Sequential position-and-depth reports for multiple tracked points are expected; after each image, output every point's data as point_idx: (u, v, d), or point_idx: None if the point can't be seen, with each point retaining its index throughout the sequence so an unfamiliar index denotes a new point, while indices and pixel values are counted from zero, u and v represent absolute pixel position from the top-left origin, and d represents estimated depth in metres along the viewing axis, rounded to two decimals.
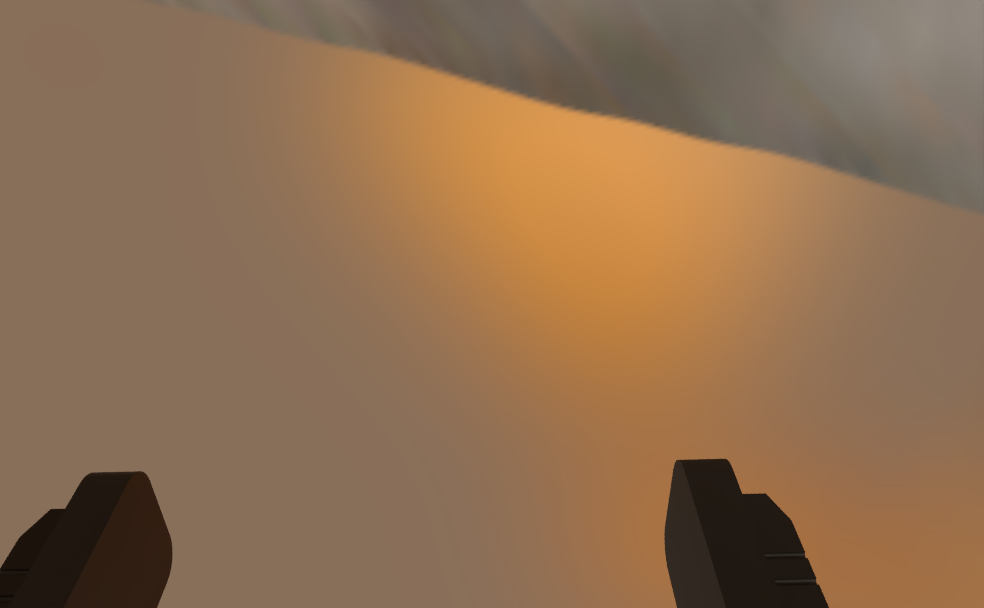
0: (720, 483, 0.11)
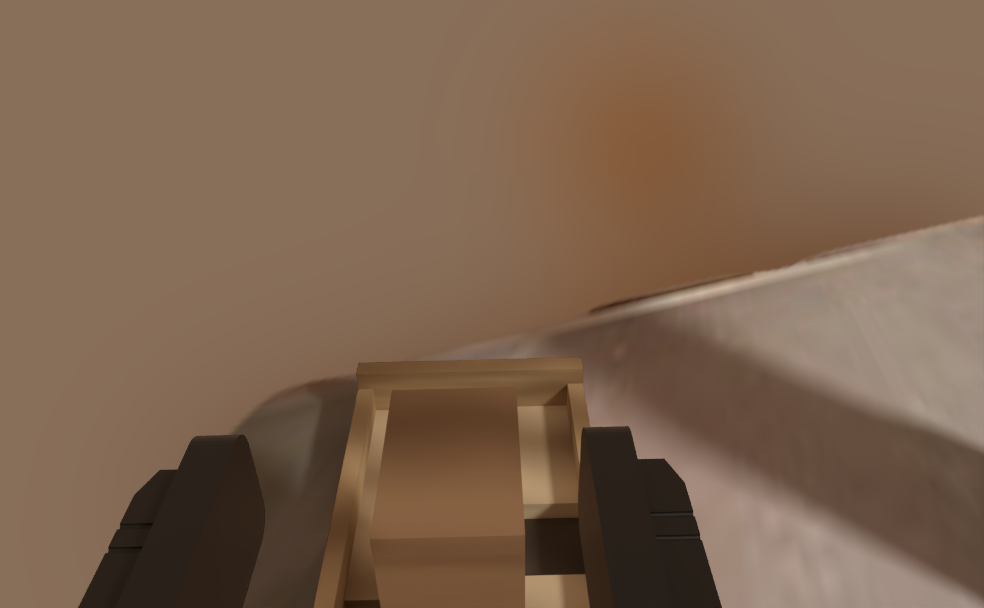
0: (618, 447, 0.11)
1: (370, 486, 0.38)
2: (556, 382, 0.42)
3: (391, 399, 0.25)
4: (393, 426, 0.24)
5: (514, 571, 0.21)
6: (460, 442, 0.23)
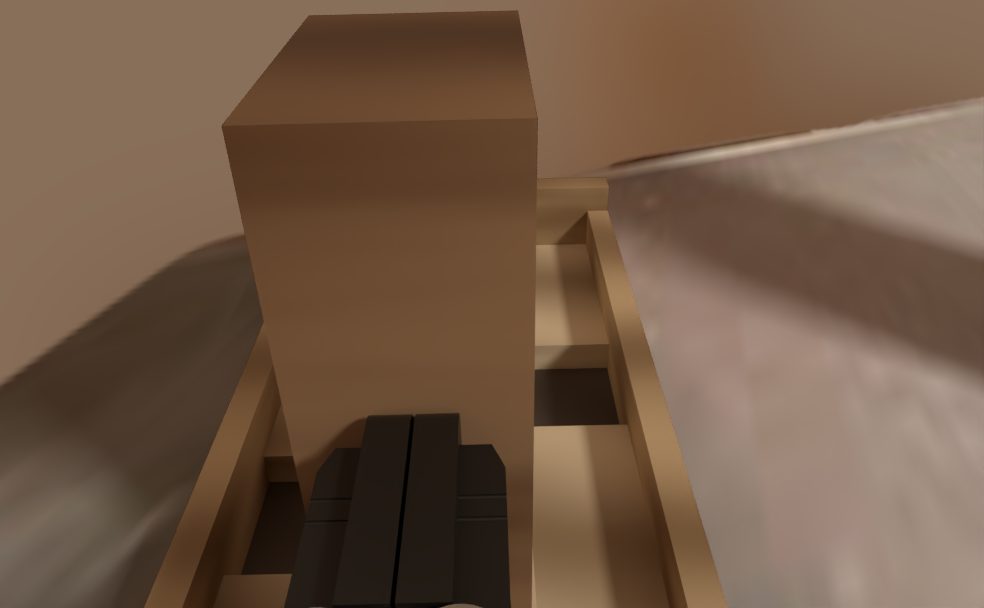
0: (441, 433, 0.12)
1: None
2: (572, 208, 0.31)
3: (306, 21, 0.15)
4: (303, 38, 0.13)
5: (514, 220, 0.11)
6: (419, 47, 0.13)
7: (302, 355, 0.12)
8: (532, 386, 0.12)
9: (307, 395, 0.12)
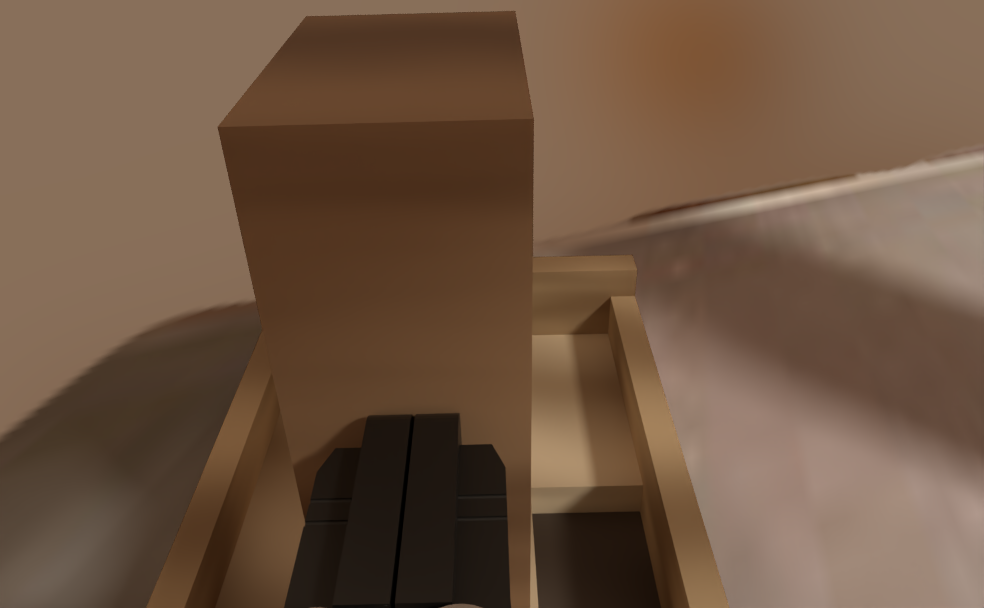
0: (441, 433, 0.12)
1: (277, 456, 0.22)
2: (592, 294, 0.26)
3: (303, 22, 0.15)
4: (300, 39, 0.13)
5: (511, 221, 0.11)
6: (415, 47, 0.13)
7: (300, 356, 0.12)
8: (529, 387, 0.12)
9: (304, 396, 0.12)
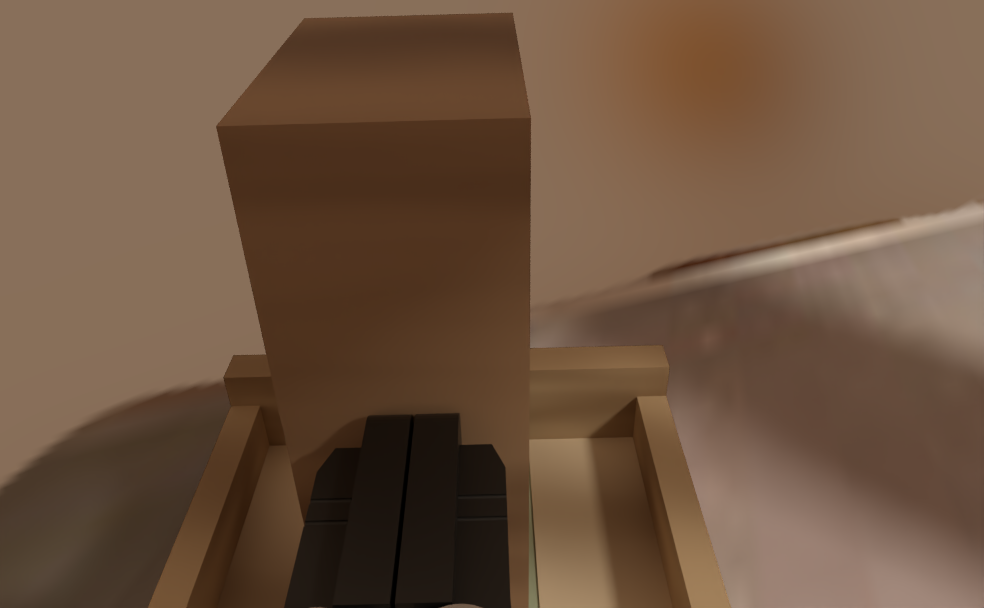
0: (441, 433, 0.12)
1: None
2: (615, 394, 0.21)
3: (301, 24, 0.15)
4: (298, 40, 0.14)
5: (508, 220, 0.11)
6: (413, 49, 0.13)
7: (298, 356, 0.12)
8: (527, 386, 0.12)
9: (303, 396, 0.12)
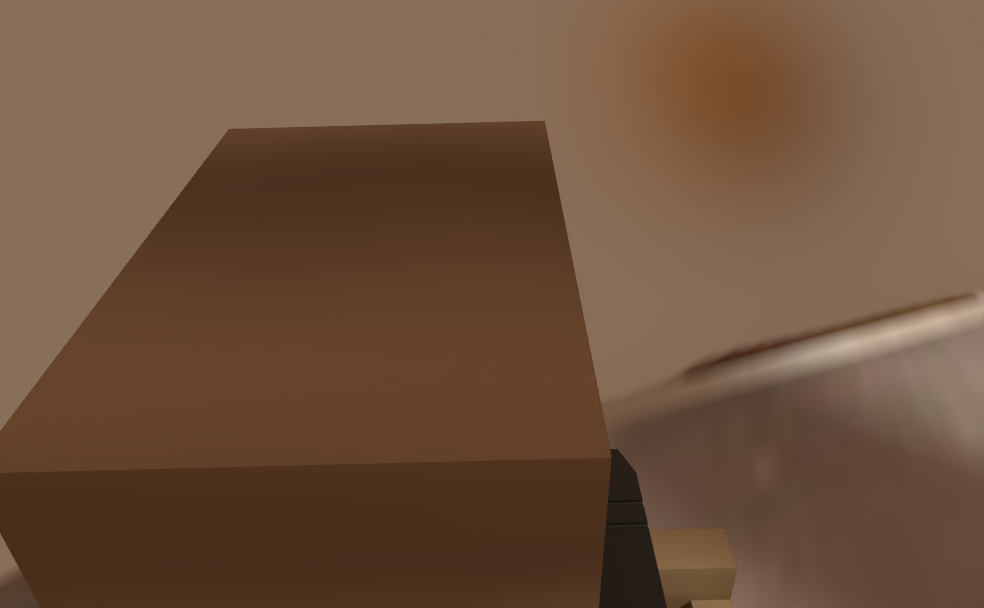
0: None
1: None
2: None
3: (221, 142, 0.09)
4: (205, 185, 0.08)
5: (558, 603, 0.06)
6: (388, 211, 0.08)
7: None
8: None
9: None
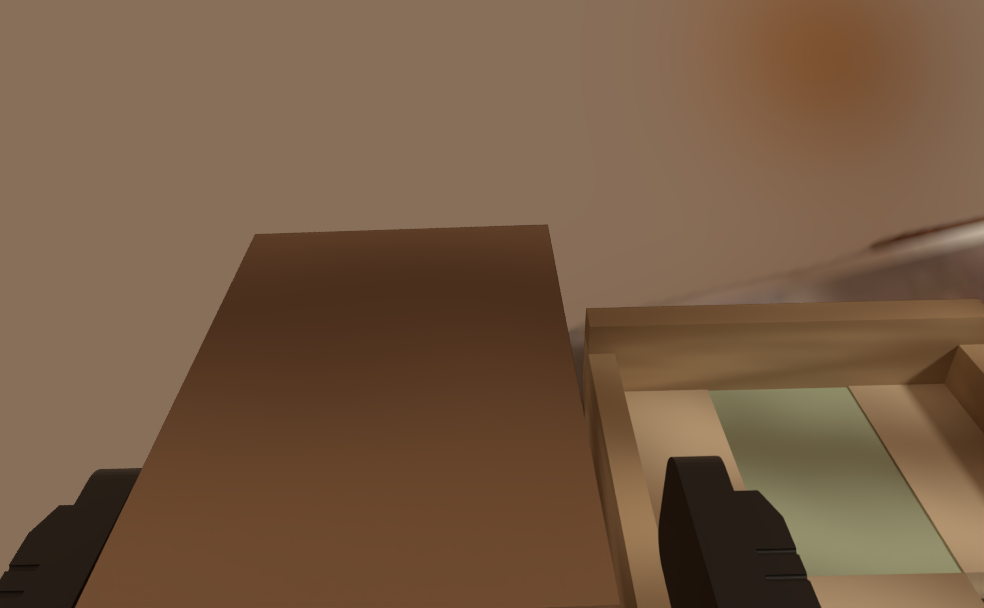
0: (712, 479, 0.11)
1: None
2: (940, 342, 0.23)
3: (250, 250, 0.10)
4: (240, 302, 0.09)
5: None
6: (411, 333, 0.09)
7: None
8: None
9: None
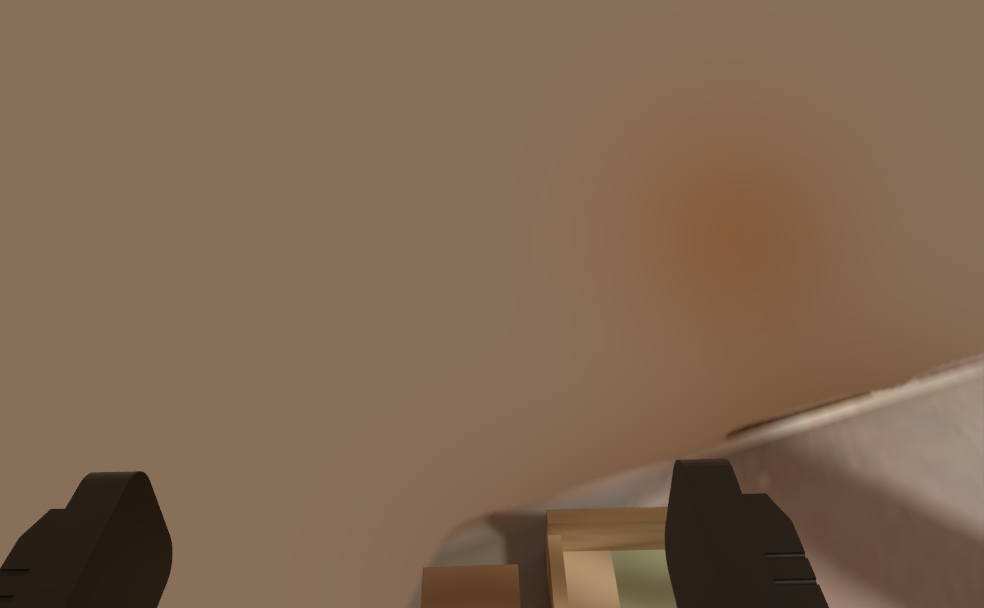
0: (720, 483, 0.11)
1: None
2: None
3: (423, 576, 0.32)
4: (426, 603, 0.31)
5: None
6: None
7: None
8: None
9: None
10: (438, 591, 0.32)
